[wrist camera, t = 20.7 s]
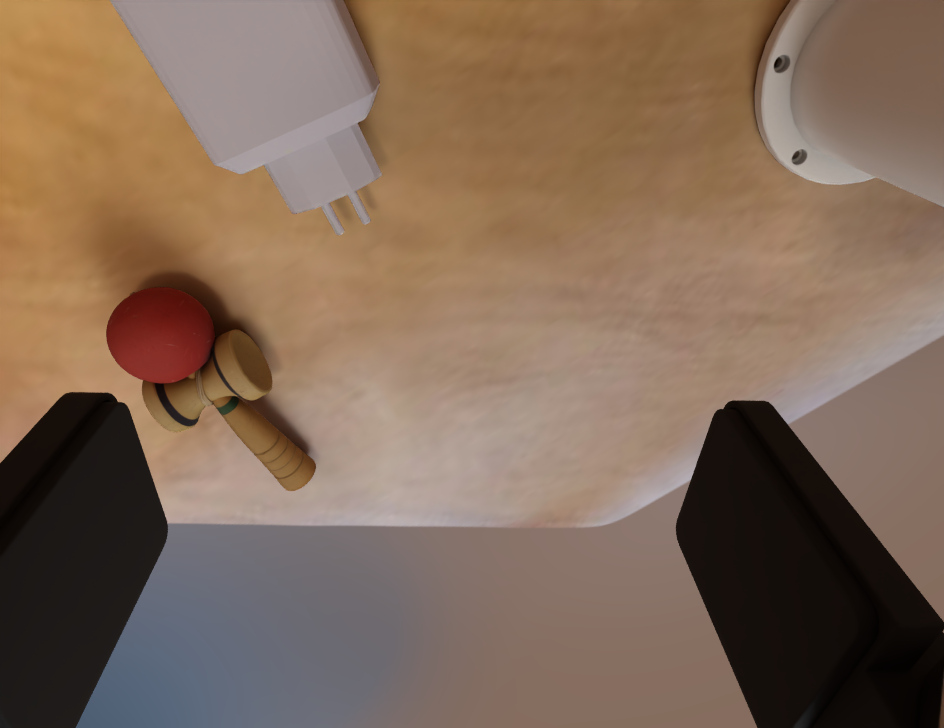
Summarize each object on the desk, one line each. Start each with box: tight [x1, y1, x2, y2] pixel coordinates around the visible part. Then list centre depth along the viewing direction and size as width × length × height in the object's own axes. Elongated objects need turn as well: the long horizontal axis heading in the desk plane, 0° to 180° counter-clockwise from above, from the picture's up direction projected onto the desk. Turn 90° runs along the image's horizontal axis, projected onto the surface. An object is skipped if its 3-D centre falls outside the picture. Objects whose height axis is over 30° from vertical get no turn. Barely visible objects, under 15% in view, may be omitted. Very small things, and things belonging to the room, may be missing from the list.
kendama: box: [106, 287, 316, 491], centre depth 40 cm, size 8×6×18 cm
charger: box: [110, 0, 382, 235], centre depth 30 cm, size 5×9×15 cm
